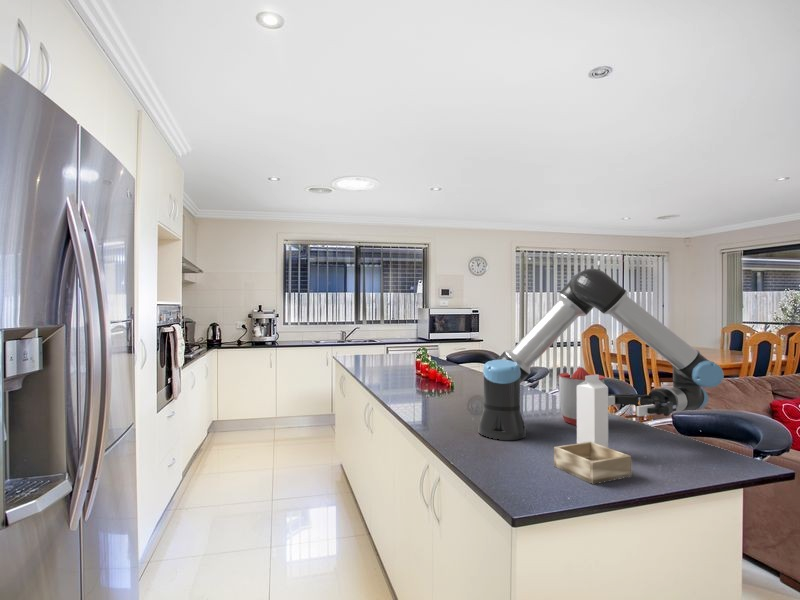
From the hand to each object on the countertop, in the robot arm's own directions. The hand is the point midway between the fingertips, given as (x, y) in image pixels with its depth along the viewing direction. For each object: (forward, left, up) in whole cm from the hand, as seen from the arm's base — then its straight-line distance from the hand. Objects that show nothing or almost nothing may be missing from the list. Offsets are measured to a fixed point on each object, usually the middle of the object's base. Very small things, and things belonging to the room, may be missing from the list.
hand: (617, 406), depth 128 cm
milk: (0, -10, -12) cm, 16 cm away
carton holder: (+11, -22, -12) cm, 27 cm away
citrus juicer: (-27, +13, -12) cm, 33 cm away
